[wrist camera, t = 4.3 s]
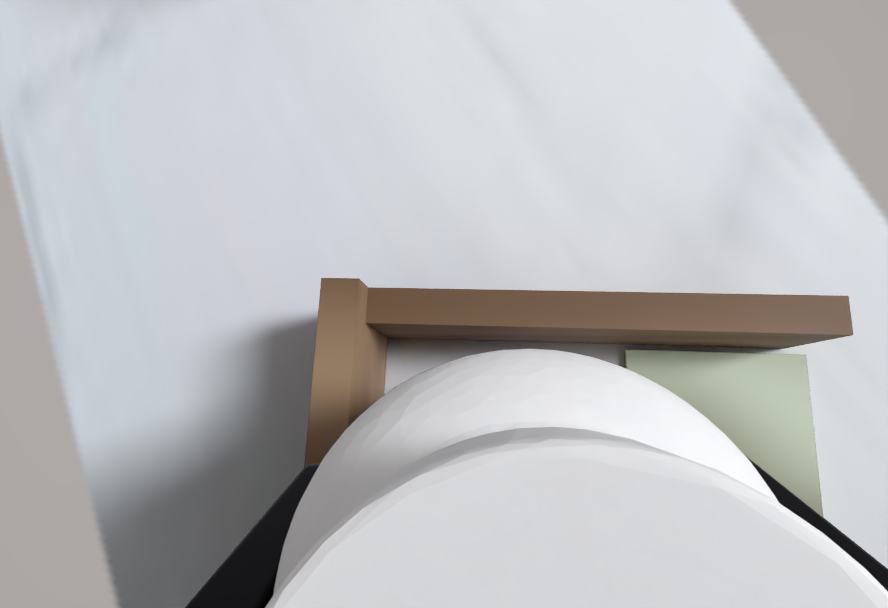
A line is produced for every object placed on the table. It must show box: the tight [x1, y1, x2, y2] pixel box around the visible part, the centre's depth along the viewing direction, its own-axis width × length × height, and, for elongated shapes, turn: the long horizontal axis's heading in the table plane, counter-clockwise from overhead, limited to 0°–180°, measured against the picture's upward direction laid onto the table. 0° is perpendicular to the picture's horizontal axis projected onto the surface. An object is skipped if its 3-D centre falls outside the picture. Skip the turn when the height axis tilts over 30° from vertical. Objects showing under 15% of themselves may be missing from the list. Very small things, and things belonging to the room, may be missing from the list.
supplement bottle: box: [265, 349, 888, 608], centre depth 9 cm, size 7×7×13 cm
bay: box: [304, 278, 853, 517], centre depth 13 cm, size 11×14×4 cm
